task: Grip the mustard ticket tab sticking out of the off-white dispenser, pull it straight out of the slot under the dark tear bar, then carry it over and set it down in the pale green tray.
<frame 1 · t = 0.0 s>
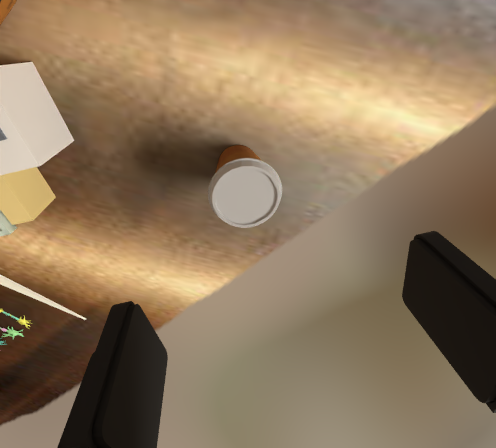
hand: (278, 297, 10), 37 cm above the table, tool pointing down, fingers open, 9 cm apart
disposable coffee cup: (237, 163, 46), on the table
ticket: (23, 163, 42), on the table
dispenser: (11, 114, 38), on the table
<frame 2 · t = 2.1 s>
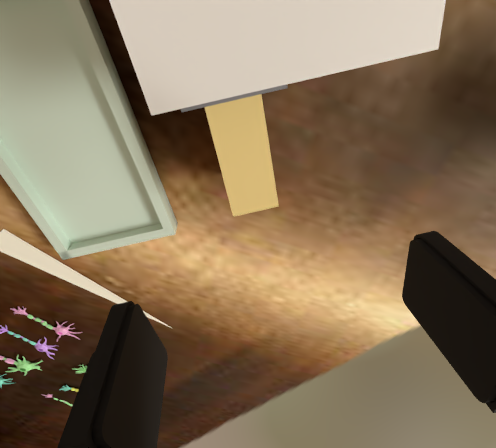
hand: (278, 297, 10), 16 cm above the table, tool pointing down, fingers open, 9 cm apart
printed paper: (64, 364, 36), on the table
ticket: (228, 95, 21), on the table
tray: (72, 139, 21), on the table
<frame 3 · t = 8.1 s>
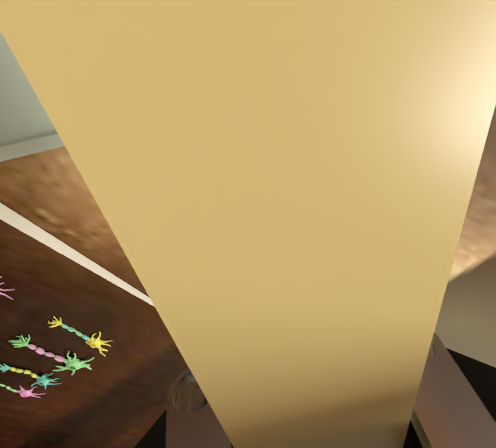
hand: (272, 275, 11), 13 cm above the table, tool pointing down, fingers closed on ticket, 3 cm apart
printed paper: (1, 337, 30), on the table
ticket: (250, 173, 10), point 12 cm above the table, touching gripper
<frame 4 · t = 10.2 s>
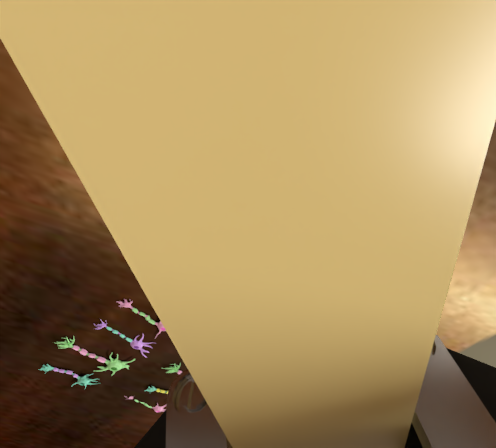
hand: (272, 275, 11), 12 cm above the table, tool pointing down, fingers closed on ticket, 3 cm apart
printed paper: (151, 363, 34), on the table
ticket: (250, 174, 10), point 11 cm above the table, touching gripper
when the fingers open (3 cm above the table, at t = 11.9 s): ticket drops 1 cm, resting on tray.
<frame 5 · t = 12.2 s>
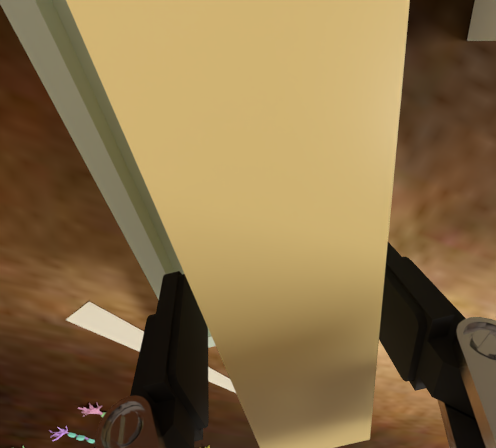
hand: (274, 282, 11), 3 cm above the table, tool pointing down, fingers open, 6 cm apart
ticket: (247, 166, 11), point 1 cm above the table, touching tray
tray: (243, 149, 11), on the table
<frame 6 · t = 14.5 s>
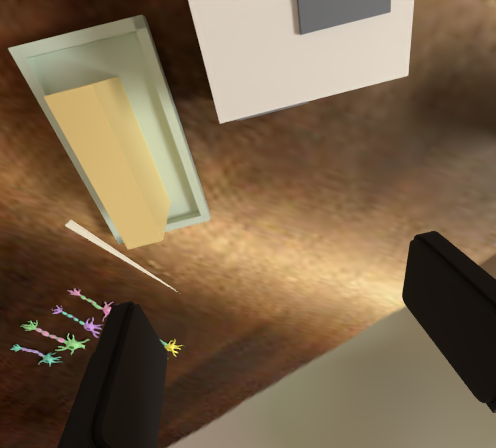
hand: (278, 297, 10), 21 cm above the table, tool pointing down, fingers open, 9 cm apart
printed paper: (105, 344, 41), on the table
ticket: (132, 151, 27), point 1 cm above the table, touching tray
tray: (132, 144, 27), on the table
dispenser: (268, 18, 24), on the table
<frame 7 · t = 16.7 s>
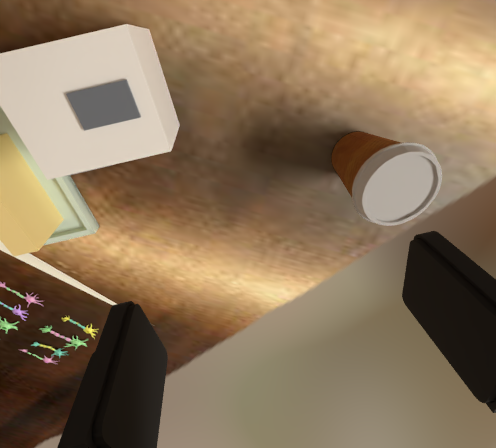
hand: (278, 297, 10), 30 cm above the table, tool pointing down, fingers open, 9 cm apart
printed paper: (34, 326, 51), on the table
disposable coffee cup: (352, 153, 40), on the table
ticket: (26, 182, 36), point 1 cm above the table, touching tray
tray: (27, 177, 37), on the table
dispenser: (114, 93, 33), on the table
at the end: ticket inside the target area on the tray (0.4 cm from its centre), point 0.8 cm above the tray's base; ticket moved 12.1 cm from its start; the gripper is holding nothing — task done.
